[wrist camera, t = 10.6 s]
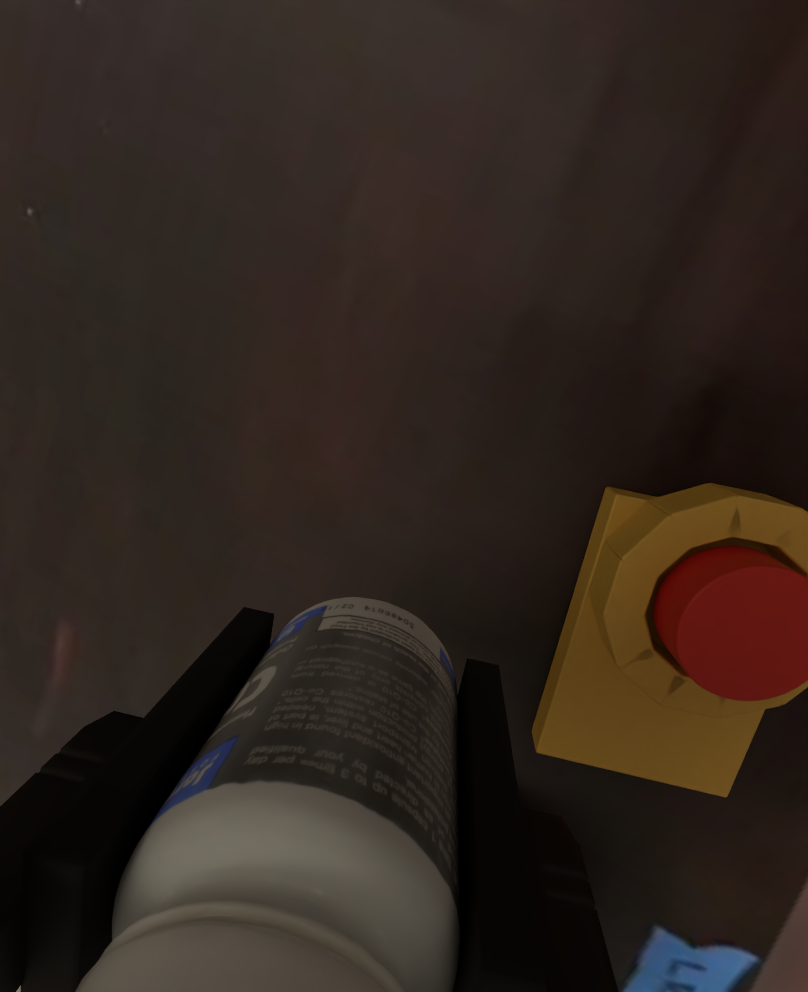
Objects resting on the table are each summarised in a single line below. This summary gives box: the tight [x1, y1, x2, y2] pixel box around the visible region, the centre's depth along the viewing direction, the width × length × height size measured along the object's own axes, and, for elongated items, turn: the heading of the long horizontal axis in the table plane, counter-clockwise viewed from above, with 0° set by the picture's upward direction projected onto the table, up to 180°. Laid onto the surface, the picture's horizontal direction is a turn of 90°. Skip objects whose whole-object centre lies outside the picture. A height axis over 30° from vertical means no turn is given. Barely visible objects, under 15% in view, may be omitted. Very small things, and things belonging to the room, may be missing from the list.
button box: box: [532, 483, 808, 797], centre depth 17 cm, size 11×7×3 cm, turn 169°
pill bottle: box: [75, 597, 461, 992], centre depth 9 cm, size 5×5×8 cm
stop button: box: [654, 546, 808, 701], centre depth 15 cm, size 4×4×2 cm
